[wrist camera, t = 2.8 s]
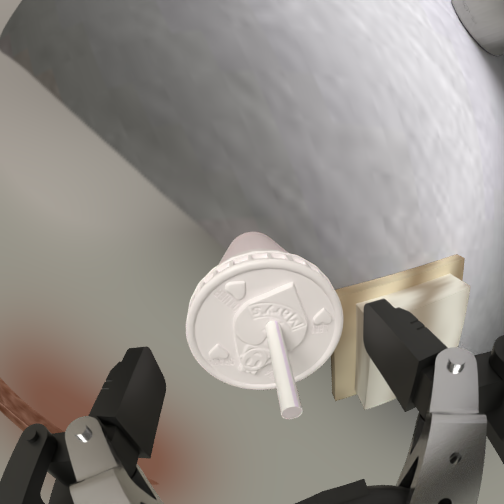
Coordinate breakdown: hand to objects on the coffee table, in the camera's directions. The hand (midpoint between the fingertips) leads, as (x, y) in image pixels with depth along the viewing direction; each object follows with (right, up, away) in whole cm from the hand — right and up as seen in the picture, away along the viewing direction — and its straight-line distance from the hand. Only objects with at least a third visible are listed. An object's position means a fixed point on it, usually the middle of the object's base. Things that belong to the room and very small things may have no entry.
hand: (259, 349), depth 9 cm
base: (+14, -4, +13) cm, 19 cm away
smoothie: (0, +3, +10) cm, 11 cm away
